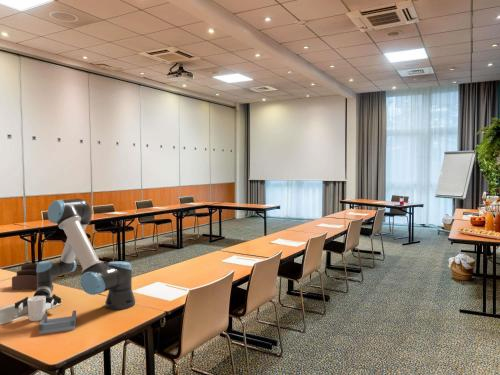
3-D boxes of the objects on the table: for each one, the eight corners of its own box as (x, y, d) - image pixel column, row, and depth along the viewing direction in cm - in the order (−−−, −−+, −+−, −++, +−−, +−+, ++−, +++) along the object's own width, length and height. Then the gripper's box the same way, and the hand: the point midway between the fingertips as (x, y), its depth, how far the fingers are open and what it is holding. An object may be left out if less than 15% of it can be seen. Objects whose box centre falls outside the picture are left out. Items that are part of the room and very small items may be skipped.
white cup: (29, 317, 187) (28, 296, 187) (47, 314, 190) (47, 295, 189) (26, 322, 180) (25, 301, 179) (45, 320, 182) (44, 299, 182)
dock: (43, 322, 180) (43, 314, 179) (76, 318, 185) (76, 310, 184) (39, 334, 166) (39, 325, 166) (74, 329, 172) (74, 320, 171)
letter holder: (22, 284, 243) (21, 262, 242) (52, 285, 241) (52, 263, 241) (11, 289, 233) (11, 266, 232) (42, 290, 231) (42, 267, 231)
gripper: (68, 299, 207) (64, 312, 187) (15, 305, 198) (5, 319, 178) (68, 285, 206) (64, 297, 187) (14, 290, 197) (5, 303, 178)
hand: (35, 308), depth 182 cm, fingers open, 13 cm apart
